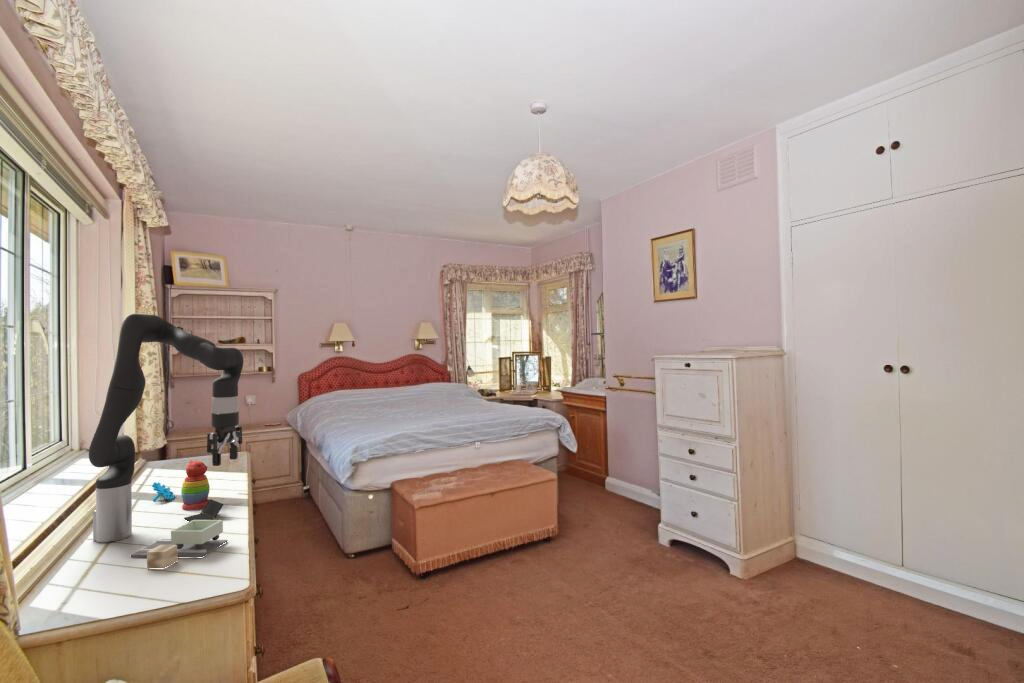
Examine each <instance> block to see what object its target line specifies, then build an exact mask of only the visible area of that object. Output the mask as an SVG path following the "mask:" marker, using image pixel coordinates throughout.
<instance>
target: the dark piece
mask: <svg viewBox="0 0 1024 683" xmlns="http://www.w3.org/2000/svg"><path fill="white" fill-rule="evenodd" d="M208 500H209V501H208V503H207V504H206V506H205V507H204V508H202V510H201V512H199V513H198V514H193V515H189V516H185V517H183V520H184V519H185V520H187V521H189V522H190V521H192V520H215V519H216V517H217V516H218V514H219V513H220V512H221V510H222V508H223V507H224V503H221V502H220V501H217V500H214V499H212V498H210V499H208ZM185 520H184V521H185ZM187 521H186V522H187Z"/></svg>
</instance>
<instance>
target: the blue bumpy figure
mask: <svg viewBox="0 0 1024 683" xmlns="http://www.w3.org/2000/svg"><path fill="white" fill-rule="evenodd" d="M151 487H152V489H153V491H155V492H156V494H157V495H156V496H155V497H154V498H152V501H153V502H155V501H157V500H158V499H161V498H163V499H165V498H166V500H168V501H170V500H171V501H173V500H174V499H175V497H176V496H175V494H174V491H171V487H169V486H168V487H166V484H162V483H161V482H153V483H152V485H151Z"/></svg>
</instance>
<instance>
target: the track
mask: <svg viewBox="0 0 1024 683" xmlns="http://www.w3.org/2000/svg"><path fill="white" fill-rule="evenodd" d="M227 541H229V540H228V539H217V540H215V541H214V540H212V539H210V540H208V541H207V542H205V543H203V544H204V547H203V548H202V549H200V550H198V549H197V548H196V544H184V546H183V548H181V549H177V557H203V556H205V555H206V554H208V553H209V554H211V553H212V552H211V551H213V550H214V551H216V550H217V549H216V548H217V547H219V546H220V545H222V544H223V543H225V542H227ZM227 543H228V542H227ZM160 545H176V544H171V538H170V539H169V538H164V539H163V538H162V539H157V540H156V541H155V542H153V543H152V544H150V545H148V546H146V547H143V548H139V549H137V551H135V552H134V553H132V554H130V558H131V557H147V552H148V551H150V550H152V549H154V548H156V547H158V546H160ZM222 546H223V545H222ZM219 548H220V547H219ZM215 549H216V550H215ZM214 551H213V552H214ZM210 552H211V553H210ZM209 554H208V555H209ZM206 556H207V555H206ZM206 556H205V557H206ZM203 558H204V557H203Z"/></svg>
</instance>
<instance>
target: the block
mask: <svg viewBox="0 0 1024 683" xmlns="http://www.w3.org/2000/svg"><path fill="white" fill-rule="evenodd" d="M176 561H177V562H178V558H177V545H160V546H158V547H156V548H154V549H152V550H150V551H148V552H147V558H146V569H147V568H165V567H167V566H169V565H171V564H173V563H174V562H176ZM173 565H174V564H173Z"/></svg>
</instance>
